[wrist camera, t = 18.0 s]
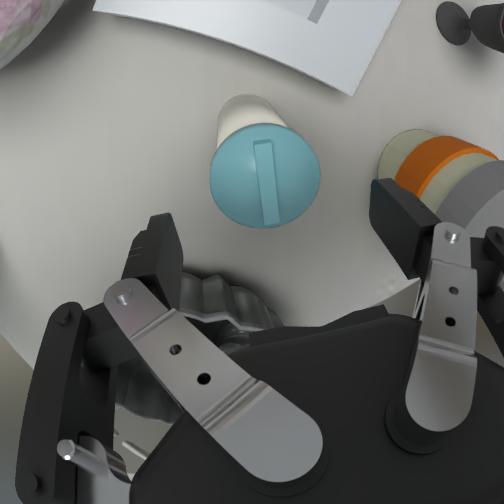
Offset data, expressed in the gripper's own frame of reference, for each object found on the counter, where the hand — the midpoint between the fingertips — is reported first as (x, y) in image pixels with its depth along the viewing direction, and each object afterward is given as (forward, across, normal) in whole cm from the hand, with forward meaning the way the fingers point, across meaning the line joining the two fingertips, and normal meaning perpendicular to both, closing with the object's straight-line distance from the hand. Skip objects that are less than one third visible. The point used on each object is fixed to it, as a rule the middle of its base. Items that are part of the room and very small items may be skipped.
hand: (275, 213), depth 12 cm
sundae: (+17, -23, -10) cm, 30 cm away
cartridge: (+17, 0, 0) cm, 17 cm away
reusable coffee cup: (+17, -18, +7) cm, 25 cm away
